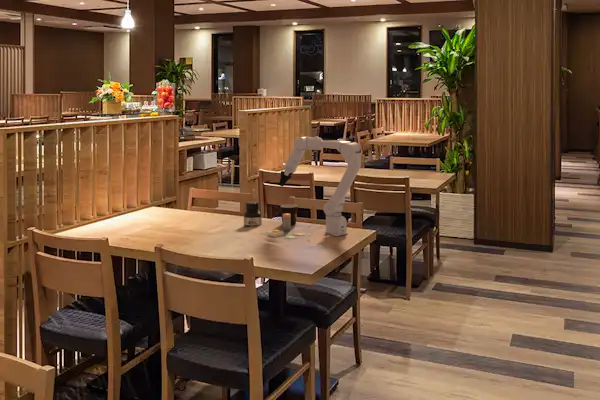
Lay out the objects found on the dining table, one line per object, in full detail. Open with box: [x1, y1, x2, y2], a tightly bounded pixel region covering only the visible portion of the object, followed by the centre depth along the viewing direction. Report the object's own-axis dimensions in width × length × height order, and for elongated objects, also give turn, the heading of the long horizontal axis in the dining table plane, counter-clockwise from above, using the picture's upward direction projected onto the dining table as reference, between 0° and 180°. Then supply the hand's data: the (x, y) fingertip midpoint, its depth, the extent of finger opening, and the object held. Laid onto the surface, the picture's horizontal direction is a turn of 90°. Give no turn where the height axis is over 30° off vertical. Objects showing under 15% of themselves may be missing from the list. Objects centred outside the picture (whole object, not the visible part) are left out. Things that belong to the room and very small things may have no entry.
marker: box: [282, 213, 292, 232], centre depth 302 cm, size 4×4×8 cm
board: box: [261, 228, 314, 241], centre depth 296 cm, size 19×16×2 cm
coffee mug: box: [280, 204, 299, 227], centre depth 319 cm, size 12×9×10 cm
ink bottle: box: [243, 200, 263, 228], centre depth 317 cm, size 10×9×12 cm
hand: (282, 183), depth 310 cm, fingers open, 7 cm apart
